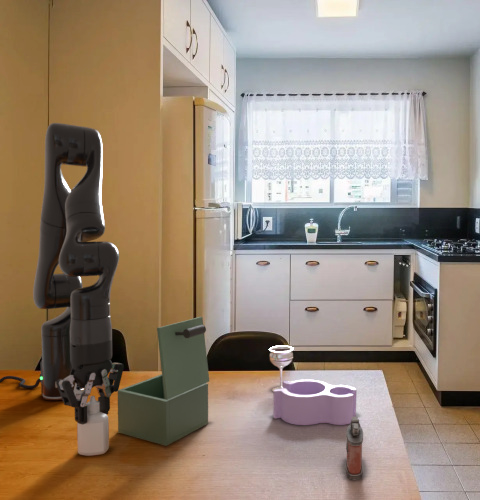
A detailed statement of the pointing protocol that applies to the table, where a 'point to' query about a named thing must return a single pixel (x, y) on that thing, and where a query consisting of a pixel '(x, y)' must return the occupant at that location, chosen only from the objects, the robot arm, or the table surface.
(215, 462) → the table surface
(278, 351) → the wineglass
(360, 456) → the lighter
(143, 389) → the chest
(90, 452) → the eye dropper bottle
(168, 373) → the lid
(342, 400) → the clip
